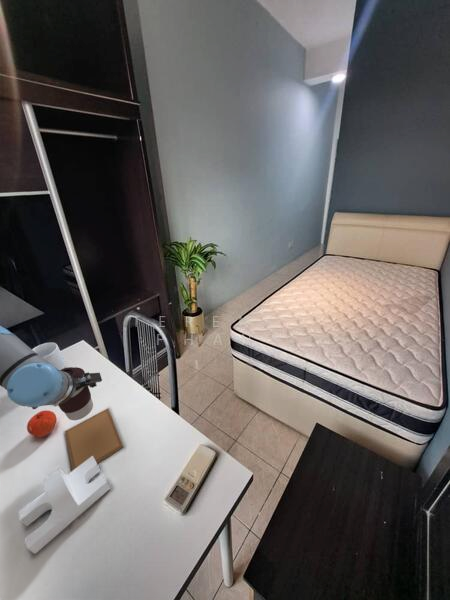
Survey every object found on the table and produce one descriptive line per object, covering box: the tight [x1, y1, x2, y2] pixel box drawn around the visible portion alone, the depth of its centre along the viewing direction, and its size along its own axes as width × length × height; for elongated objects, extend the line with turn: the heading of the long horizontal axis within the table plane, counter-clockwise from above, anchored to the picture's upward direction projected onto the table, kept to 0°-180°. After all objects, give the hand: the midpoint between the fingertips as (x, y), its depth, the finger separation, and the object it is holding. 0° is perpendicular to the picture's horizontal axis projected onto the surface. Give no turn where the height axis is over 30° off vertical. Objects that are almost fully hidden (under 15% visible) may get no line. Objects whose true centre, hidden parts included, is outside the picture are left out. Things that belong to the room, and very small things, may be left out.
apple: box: [26, 410, 58, 438], centre depth 82 cm, size 8×8×8 cm
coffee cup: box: [57, 366, 94, 421], centre depth 73 cm, size 10×10×15 cm
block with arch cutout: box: [18, 456, 111, 555], centre depth 62 cm, size 18×10×11 cm, turn 136°
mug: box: [31, 342, 65, 370], centre depth 104 cm, size 15×11×13 cm
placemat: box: [64, 408, 124, 471], centre depth 80 cm, size 18×14×1 cm
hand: (73, 390), depth 76 cm, fingers closed on coffee cup, 10 cm apart
